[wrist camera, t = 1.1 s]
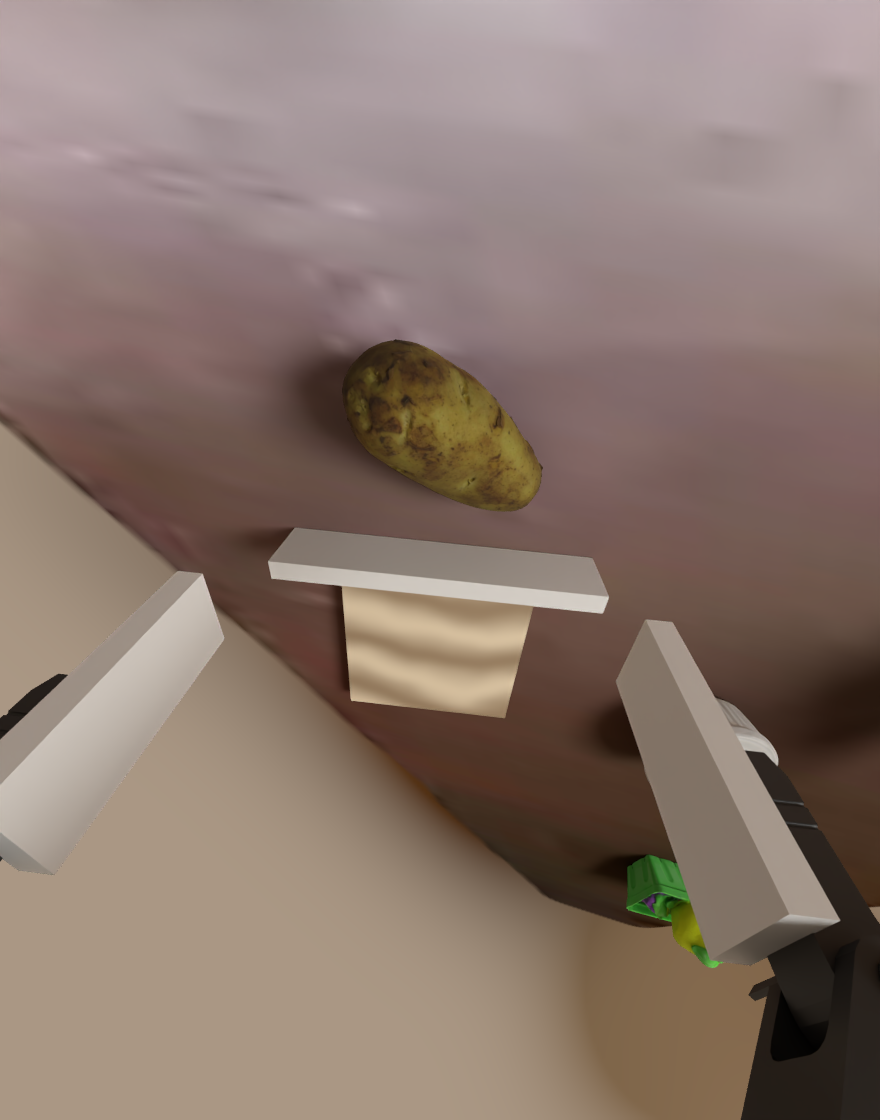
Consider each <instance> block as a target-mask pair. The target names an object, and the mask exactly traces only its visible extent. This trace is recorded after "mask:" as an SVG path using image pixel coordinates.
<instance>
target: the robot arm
mask: <svg viewBox="0 0 880 1120" xmlns="http://www.w3.org/2000/svg"><path fill="white" fill-rule="evenodd" d="M223 640H224V636H223V633H222V630H221V627H220V624H219V621H218V618H217V615H216V612H215V609H214V606H213V603H212V600H211V597H210V594H209V591H208V589H207V586H206V583H205V580H204V577H203V574H201V573H191V572H182V571H177V572H176V573H175V574H174V575H173V576H172V577H171V578H170V579H169V580H168V581H167V582H166V583H165V584H163V585H162V586H161V588H159V590H157V591H156V592H155V593H154V594H153V595H152V596H151V597H150V598H149V599H148V600H147V601H146V602H145V603H144V604H142V605H141V606H140V607H139V608H138V609H137V610H136V611H135V612H134V613H133V614H132V615H131V616H130V617H129V618H128V619H127V620H126V621H125V622H124V623H122V624H121V625H120V626H119V627H118V628H117V629H116V630H115V631H114V632H113V633H112V634H111V635H110V636H109V637H108V638H107V639H106V640H105V641H104V642H103V643H101V644H100V645H99V646H98V647H97V648H96V649H95V650H94V651H93V652H92V653H91V654H90V655H89V656H88V657H87V658H86V659H85V660H84V661H82V662H81V663H80V664H79V665H78V666H77V667H76V668H75V669H74V670H73V671H72V672H71V673H70V674H69V675H64V674H57V675H56V676H54V677H52V678H51V679H49V680H47V681H46V682H44V683H43V684H41V685H39V686H37V687H36V688H34V689H32V690H31V691H30V692H29V693H28V694H26V695H25V696H24V697H23V698H22V699H21V700H20V701H19V702H18V703H16V704H15V705H14V706H13V707H12V708H11V709H10V710H9V711H8V714H7V715H3V716H2V717H1V718H0V861H1V860H2V859H3V860H5V861H6V862H7V863H9V864H10V865H12V866H13V867H15V868H16V869H17V870H19V871H27V872H35V873H42V874H50V875H55V873H56V872H57V871H58V869H59V868H60V866H61V865H62V864H63V862H64V861H65V860H66V858H67V857H68V855H69V854H70V853H71V851H72V850H73V849H74V847H75V846H76V844H77V843H78V842H79V840H80V839H81V837H82V836H83V835H84V833H85V832H86V831H87V829H88V828H89V826H90V825H91V824H92V822H93V821H94V819H95V818H96V817H97V815H98V814H99V812H100V811H101V810H102V808H103V807H104V806H105V804H106V803H107V801H108V800H109V799H110V797H111V796H112V794H113V793H114V792H115V790H116V789H117V788H118V786H119V785H120V783H121V782H122V781H123V779H124V778H125V776H126V775H127V774H128V772H129V771H130V769H131V768H132V767H133V765H134V763H136V761H137V760H138V758H139V757H140V756H141V754H142V753H143V751H144V750H145V749H146V747H147V746H148V744H149V743H150V742H151V740H152V739H153V738H154V736H155V735H156V733H157V732H158V731H159V729H160V728H161V726H162V725H163V724H164V722H165V721H166V719H167V718H168V717H169V715H170V714H171V712H172V711H173V710H174V708H175V707H176V706H177V704H178V703H179V701H180V700H181V699H182V697H183V696H184V694H185V693H186V692H187V690H188V689H189V688H190V686H191V685H192V683H193V682H194V680H195V679H196V678H197V676H198V675H199V674H200V672H201V671H202V669H203V668H204V667H205V665H206V664H207V663H208V661H209V660H210V658H211V657H212V656H213V654H214V653H215V651H216V650H217V649H218V647H219V646H220V644H221V643H222V642H223ZM616 683H617V686H618V689H619V692H620V695H621V698H622V701H623V704H624V707H625V710H626V713H627V716H628V719H629V722H630V725H631V728H632V731H633V734H634V737H635V740H636V742H637V745H638V748H639V751H640V754H641V757H642V760H643V763H644V766H645V769H646V772H647V775H648V778H649V781H650V784H651V787H652V790H653V793H654V796H655V799H656V802H657V805H658V808H659V811H660V814H661V816H662V819H663V822H664V825H665V828H666V831H667V834H668V837H669V840H670V843H671V846H672V849H673V852H674V855H675V858H676V861H677V864H678V867H679V870H680V873H681V876H682V879H683V882H684V885H685V887H686V890H687V893H688V896H689V899H690V902H691V905H692V908H693V911H694V914H695V917H696V920H697V923H698V926H699V929H700V932H701V935H702V938H703V941H704V944H705V947H706V950H707V953H708V956H709V959H710V960H712V961H719V962H728V963H735V964H743V965H752V964H755V963H757V962H759V961H760V960H763V959H765V958H767V957H768V960H769V962H770V964H771V967H772V969H773V971H774V974H775V976H774V977H772V978H770V979H767V980H765V981H763V982H760V983H758V984H756V985H754V987H753V988H752V990H751V992H750V993H749V996H751V998H752V999H754V1000H755V1001H756V1000H759V999H761V998H764V997H766V996H767V999H766V1004H765V1009H764V1013H763V1018H762V1023H761V1028H760V1032H759V1036H758V1042H757V1046H756V1051H755V1056H754V1060H753V1065H752V1070H751V1074H750V1079H749V1084H748V1088H747V1093H746V1098H745V1102H744V1107H743V1112H742V1117H741V1120H880V924H879V922H878V921H877V920H876V918H875V917H874V915H873V913H872V912H871V910H870V909H869V907H868V905H867V904H866V902H865V900H864V899H863V897H862V896H861V894H860V892H859V891H858V889H857V888H856V886H855V884H854V883H853V881H852V880H851V878H850V876H849V875H848V873H847V871H846V870H845V868H844V867H843V865H842V863H841V862H840V860H839V859H838V857H837V855H836V854H835V852H834V851H833V849H832V847H831V846H830V844H829V842H828V841H827V839H826V838H825V836H824V834H823V833H822V831H819V830H818V828H817V823H816V822H815V820H814V818H813V817H812V815H811V813H810V812H809V810H808V809H807V808H805V807H804V805H803V803H804V802H803V801H802V799H801V797H800V796H799V794H798V793H797V791H796V789H795V788H794V786H793V784H792V783H791V781H790V780H789V778H788V776H787V775H786V774H785V773H784V772H783V771H782V770H781V769H780V768H779V767H778V766H777V765H776V764H775V763H774V762H773V761H772V760H771V759H770V758H769V757H768V756H767V755H766V754H765V753H764V752H756V751H747V750H744V749H743V747H742V745H741V743H740V741H739V740H738V738H737V736H736V734H735V733H734V731H733V729H732V727H731V725H730V724H729V722H728V720H727V718H726V717H725V715H724V713H723V711H722V709H721V708H720V706H719V704H718V702H717V701H716V699H715V697H714V695H713V693H712V692H711V690H710V688H709V686H708V685H707V683H706V681H705V679H704V677H703V676H702V674H701V672H700V670H699V669H698V667H697V665H696V663H695V662H694V660H693V658H692V656H691V654H690V653H689V651H688V649H687V647H686V646H685V644H684V642H683V640H682V638H681V637H680V635H679V633H678V631H677V630H676V628H675V626H674V624H673V622H665V621H656V620H645V622H644V624H643V626H642V628H641V630H640V632H639V634H638V636H637V638H636V640H635V642H634V645H633V647H632V649H631V651H630V653H629V655H628V657H627V659H626V661H625V663H624V665H623V668H622V670H621V672H620V674H619V676H618V678H617V680H616Z"/></svg>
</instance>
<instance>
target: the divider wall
mask: <svg viewBox="0 0 880 1120" xmlns="http://www.w3.org/2000/svg"><path fill="white" fill-rule="evenodd" d="M268 564H269V569H270V574H271V578H272V579H282V580H291V581H301V582H310V583H320V584H329V585H339V586H348V587H357V588H367V589H376V590H386V591H395V592H405V593H414V594H424V595H433V596H442V597H452V598H461V599H471V600H480V601H490V602H499V603H509V604H518V605H527V606H537V607H546V608H556V609H565V610H575V611H584V612H594V613H603V611H604V609H605V606H606V604H607V601H608V598H609V596H608V593H607V591H606V589H605V586H604V584H603V582H602V579H601V577H600V575H599V572H598V570H597V568H596V565H595V563H594V561H593V558H589V557H579V556H569V555H560V554H550V553H540V552H530V551H520V550H511V549H501V548H491V547H481V546H471V545H461V544H452V543H442V542H432V541H422V540H412V539H403V538H393V537H383V536H373V535H363V534H353V533H344V532H334V531H324V530H314V529H304V528H294V529H293V531H292V532H291V533H290V534H289V536H288V537H287V538H286V539H285V541H284V542H283V543H282V544H281V546H280V547H279V548H278V549H277V551H276V552H275V553H274V554H273V556H272V557H271V558H270V560H269V561H268Z"/></svg>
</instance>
